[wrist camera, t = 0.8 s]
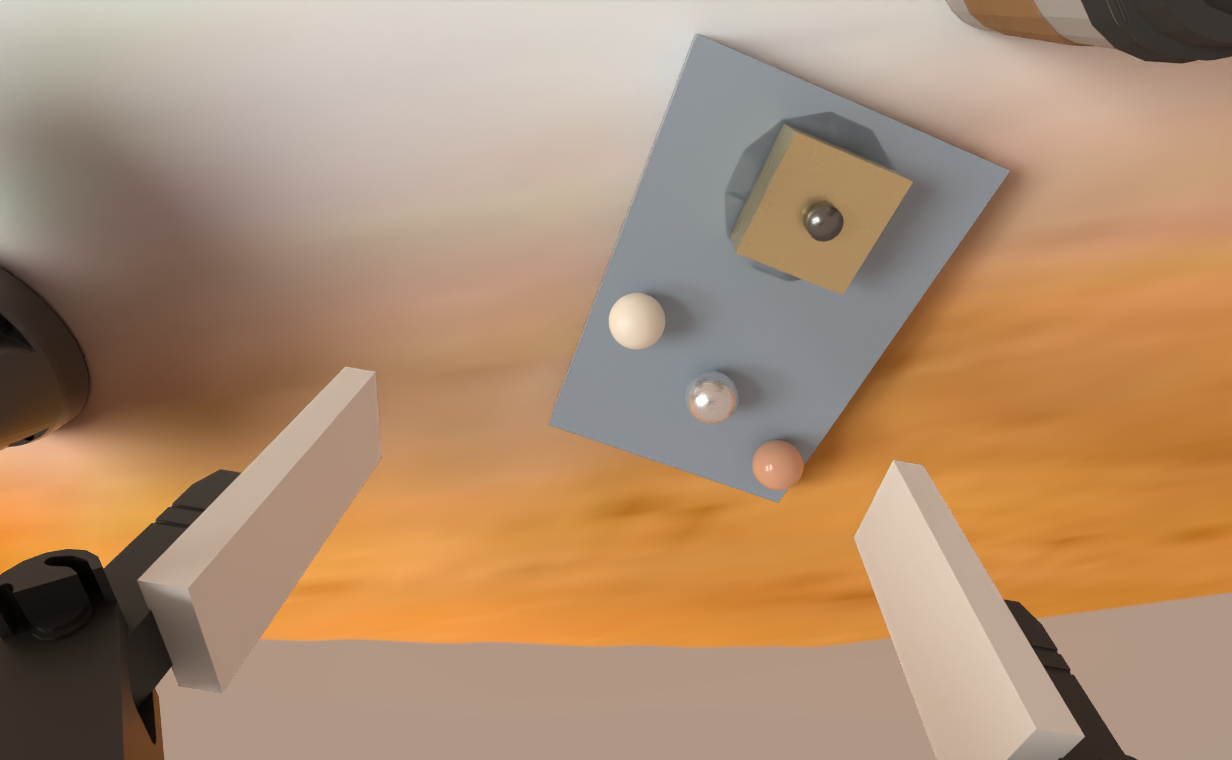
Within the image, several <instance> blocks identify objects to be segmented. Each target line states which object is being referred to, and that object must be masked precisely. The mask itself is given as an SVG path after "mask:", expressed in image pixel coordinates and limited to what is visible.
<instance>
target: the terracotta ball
mask: <svg viewBox="0 0 1232 760" xmlns="http://www.w3.org/2000/svg"><path fill="white" fill-rule="evenodd" d="M803 468H804V464H803V459H802V456H801V454H800V452H799V451H798V450H797V448H796V447H794V446H793V445H792V444H790V443H788V442H786V441H783V440H771V441H768V442H765V443H763V444H762V445H761V446H759V447H758V449H757V450H756V451H755V453H754V455H753V458H752V470H753V473H754V475H755V477H756V479H757V480H758V481H759V482H760V483H761V484H762V485H763V486H765V487H767V488H769V489H772V490H785V489H788V488H790V487H792V486H794V485H795V484H796V483H797V482H798V481H799V480H800V478H801V476H802V473H803Z"/></svg>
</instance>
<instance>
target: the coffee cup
mask: <svg viewBox="0 0 1232 760" xmlns="http://www.w3.org/2000/svg"><path fill="white" fill-rule="evenodd" d="M946 1H947V3H948V5H949V7H950V9H951V11H952V12H953V13H955V14H956V15H957V16H958V17H959V18H960V19H961V20H962V21H963V22H964V23H967V24H969V25H972V26H974V27H976V28H979V29H984V30H991V31H997V32H1000V33H1002V34H1005V35H1011V36H1017V37H1023V38H1030V39H1036V40H1042V41H1049V42H1055V43H1062V44H1068V45H1077V46H1100V47H1107V48H1114V49H1118V50H1120V51H1123V52H1125V53H1128V54H1130V55H1132V56H1135V57H1137V58H1139V59H1142V60H1144V61H1153V62H1168V63H1186V62H1191V61H1196V60H1216V59H1221V58H1226V57H1231V56H1232V0H946Z"/></svg>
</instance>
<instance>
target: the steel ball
mask: <svg viewBox="0 0 1232 760" xmlns="http://www.w3.org/2000/svg"><path fill="white" fill-rule="evenodd" d="M738 400H739V395H738V390H737V387H736V385H735V384H734V382H733V381H732V380H731V379H730V378H729V377H728V376H727V375H725V374H723V373H720V372H716V371H707V372H703V373H700V374H699V375H697V376H695V377H694V378H693V379H692V380H691V381H690V383H689V384H688V386H687V388H686V392H685V403H686V406H687V409H688V411H689V412H690V414H691V415H692V416H693V417H694V418H695V419H697V420H698V421H700V422H703V423H706V424H718V423H721V422H724V421H725V420H727V419H728V418H730V417H731V416H732V415H733V413H734V412H735V410H736V408H737V405H738Z"/></svg>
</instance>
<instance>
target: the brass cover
mask: <svg viewBox="0 0 1232 760" xmlns="http://www.w3.org/2000/svg"><path fill="white" fill-rule="evenodd" d="M912 183H913V181H911V180H909V179H908V178H906V177H904V176H903V175H901V174H899V173H897V172H896V171H894V170H892V169H890V168H888V167H886V166H883V165H881V164H879V163H876V162H874V161H872V160H869V159H867V158H864V157H862V156H860V155H857V154H855V153H853V152H850V151H848V150H846V149H843V148H841V147H839V146H836V145H834V144H832V143H829V142H827V141H825V140H822V139H820V138H818V137H815V136H813V135H811V134H808V133H806V132H803V131H801V130H799V129H796V128H794V127H792V126H789V125H787V124H785V123H784V124H783V126H782V128H781V130H780V132H779V134H778V136H777V138H776V141H775V143H774V145H773V147H772V149H771V151H770V153H769V155H768V157H767V159H766V161H765V163H764V165H763V168H762V170H761V172H760V174H759V176H758V178H757V180H756V182H755V184H754V186H753V188H752V190H751V192H750V195H749V197H748V199H747V201H746V203H745V205H744V207H743V209H742V211H741V213H740V215H739V217H738V219H737V222H736V224H735V226H734V228H733V230H732V232H731V234H730V237H731V240H732V243H733V246H734V250H735V253H737V254H739V255H742V256H744V257H747V258H749V259H752V260H755V261H757V262H760V263H762V264H765V265H767V266H770V267H772V268H775V269H777V270H780V271H783V272H785V273H788V274H790V275H793V276H795V277H798V278H800V279H803V280H805V281H808V282H811V283H813V284H816V285H818V286H821V287H823V288H826V289H828V290H831V291H834V292H836V293H839V294H841V295H843V294H844V293H845V291H846V289H847V288H848V286H849V285H850V283H851V281H852V280H853V278H854V276H855V275H856V273H857V272H858V270H859V268H860V267H861V265H862V264H863V262H864V260H865V259H866V257H867V255H868V254H869V252H870V251H871V249H872V247H873V246H874V244H875V243H876V241H877V239H878V238H879V236H880V235H881V233H882V231H883V230H884V228H885V226H886V225H887V223H888V222H889V220H890V218H891V217H892V215H893V214H894V212H895V210H896V209H897V207H898V205H899V204H900V202H901V201H902V199H903V197H904V196H905V194H906V193H907V191H908V189H909V188H910V186H911V184H912Z"/></svg>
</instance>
